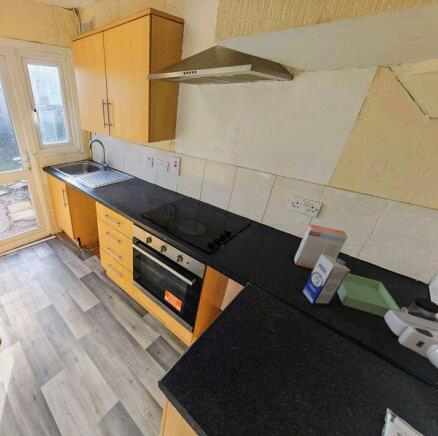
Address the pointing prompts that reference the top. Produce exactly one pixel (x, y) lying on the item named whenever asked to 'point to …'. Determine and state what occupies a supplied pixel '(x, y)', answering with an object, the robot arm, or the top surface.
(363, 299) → the square green tray
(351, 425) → the top surface
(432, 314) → the food flask
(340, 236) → the cracker box
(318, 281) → the milk carton
